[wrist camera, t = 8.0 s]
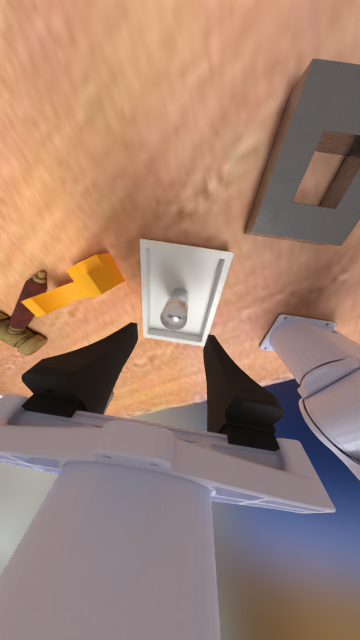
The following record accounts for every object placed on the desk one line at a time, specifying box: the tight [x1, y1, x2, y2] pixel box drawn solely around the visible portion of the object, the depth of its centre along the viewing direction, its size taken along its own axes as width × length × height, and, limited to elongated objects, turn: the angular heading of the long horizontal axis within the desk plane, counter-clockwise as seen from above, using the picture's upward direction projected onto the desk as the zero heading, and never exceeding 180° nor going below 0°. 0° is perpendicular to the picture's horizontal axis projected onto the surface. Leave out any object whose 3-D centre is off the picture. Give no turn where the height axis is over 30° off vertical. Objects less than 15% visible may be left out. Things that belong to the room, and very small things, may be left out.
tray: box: [140, 239, 234, 346], centre depth 21 cm, size 12×16×2 cm
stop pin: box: [160, 288, 189, 330], centre depth 18 cm, size 3×3×7 cm
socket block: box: [244, 59, 360, 246], centre depth 12 cm, size 10×10×2 cm
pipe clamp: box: [21, 253, 125, 317], centre depth 19 cm, size 12×4×6 cm, turn 109°
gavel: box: [0, 271, 47, 356], centre depth 25 cm, size 21×5×10 cm
